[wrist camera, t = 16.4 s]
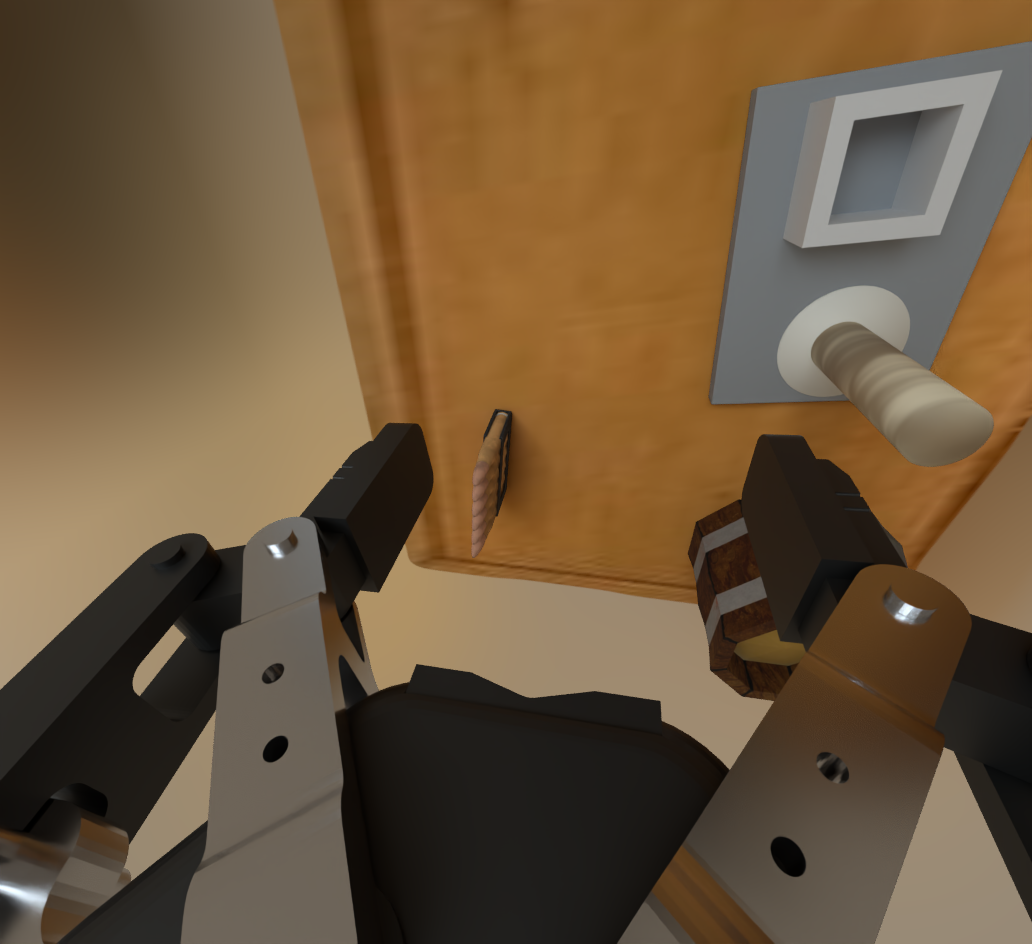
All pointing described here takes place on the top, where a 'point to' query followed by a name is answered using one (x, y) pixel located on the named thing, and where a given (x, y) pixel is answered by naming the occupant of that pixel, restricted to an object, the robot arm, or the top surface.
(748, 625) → the mug
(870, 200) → the board
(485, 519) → the ammunition clip
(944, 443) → the peg
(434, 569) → the top surface
